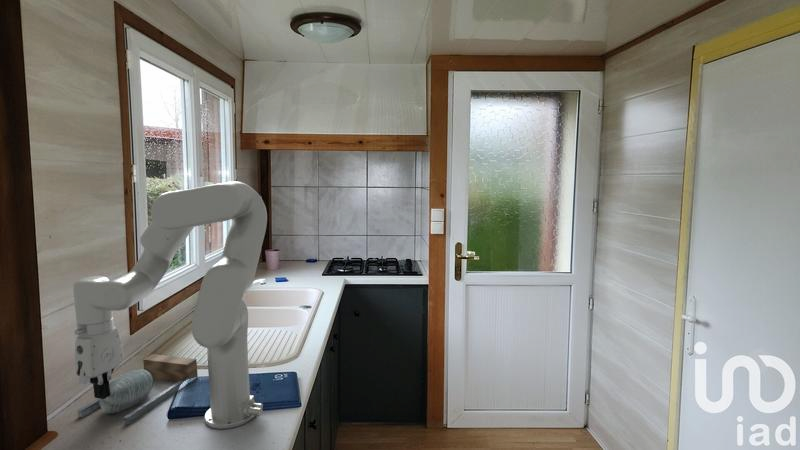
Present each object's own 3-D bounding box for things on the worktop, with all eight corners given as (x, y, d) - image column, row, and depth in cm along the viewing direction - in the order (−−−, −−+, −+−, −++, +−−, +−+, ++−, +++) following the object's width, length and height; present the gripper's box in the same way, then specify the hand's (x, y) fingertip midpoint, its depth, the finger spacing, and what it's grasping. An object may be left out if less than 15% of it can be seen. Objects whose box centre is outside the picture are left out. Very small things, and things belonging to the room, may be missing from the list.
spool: (135, 376, 132) (136, 353, 127) (160, 394, 130) (162, 372, 126) (89, 410, 121) (89, 386, 116) (116, 430, 119) (117, 407, 114)
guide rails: (188, 384, 135) (188, 377, 135) (128, 425, 114) (127, 418, 113) (144, 378, 139) (144, 372, 138) (78, 417, 117) (77, 410, 117)
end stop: (197, 377, 139) (196, 359, 138) (188, 384, 135) (187, 364, 134) (154, 372, 142) (153, 354, 142) (144, 378, 139) (143, 359, 138)
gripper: (81, 339, 105) (88, 414, 107) (132, 318, 119) (138, 384, 122) (54, 336, 107) (62, 410, 109) (108, 315, 121) (114, 381, 124)
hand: (102, 396), depth 115 cm, fingers closed
